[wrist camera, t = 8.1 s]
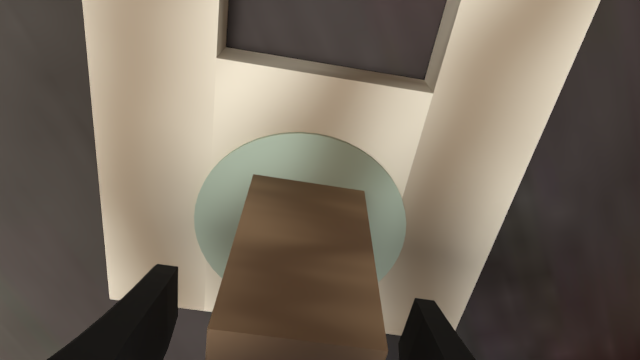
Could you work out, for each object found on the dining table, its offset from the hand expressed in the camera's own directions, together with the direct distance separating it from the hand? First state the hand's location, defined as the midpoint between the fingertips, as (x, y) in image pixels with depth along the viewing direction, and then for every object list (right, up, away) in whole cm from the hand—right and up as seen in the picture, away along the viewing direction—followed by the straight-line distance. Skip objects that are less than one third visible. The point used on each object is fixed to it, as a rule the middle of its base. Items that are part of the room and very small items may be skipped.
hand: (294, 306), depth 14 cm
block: (0, +2, +3) cm, 4 cm away
